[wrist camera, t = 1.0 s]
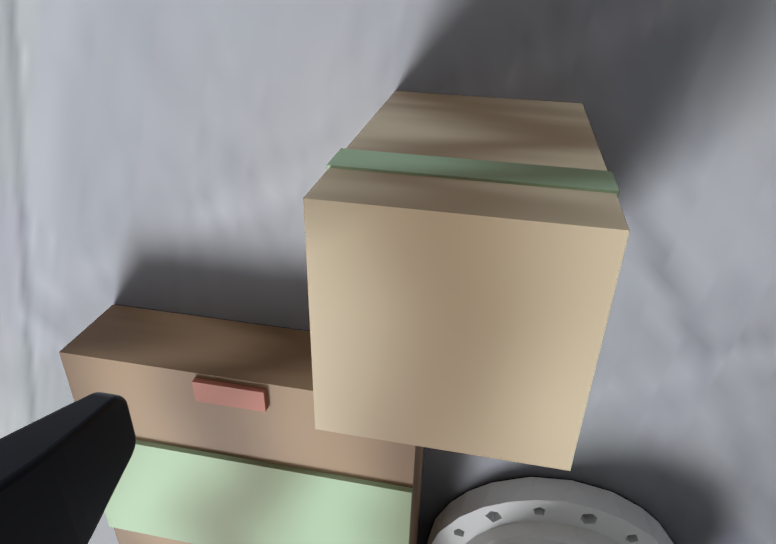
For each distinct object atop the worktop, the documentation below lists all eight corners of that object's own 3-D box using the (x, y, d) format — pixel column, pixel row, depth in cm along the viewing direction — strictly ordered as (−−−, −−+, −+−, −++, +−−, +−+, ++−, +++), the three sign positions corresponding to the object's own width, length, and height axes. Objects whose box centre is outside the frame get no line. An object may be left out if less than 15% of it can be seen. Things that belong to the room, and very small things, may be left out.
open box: (430, 348, 20) (411, 435, 17) (415, 567, 26) (398, 667, 22) (112, 304, 22) (33, 375, 19) (165, 518, 28) (112, 603, 24)
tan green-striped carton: (584, 101, 15) (634, 228, 9) (553, 271, 18) (572, 472, 11) (393, 89, 16) (299, 194, 9) (389, 252, 19) (312, 430, 12)
